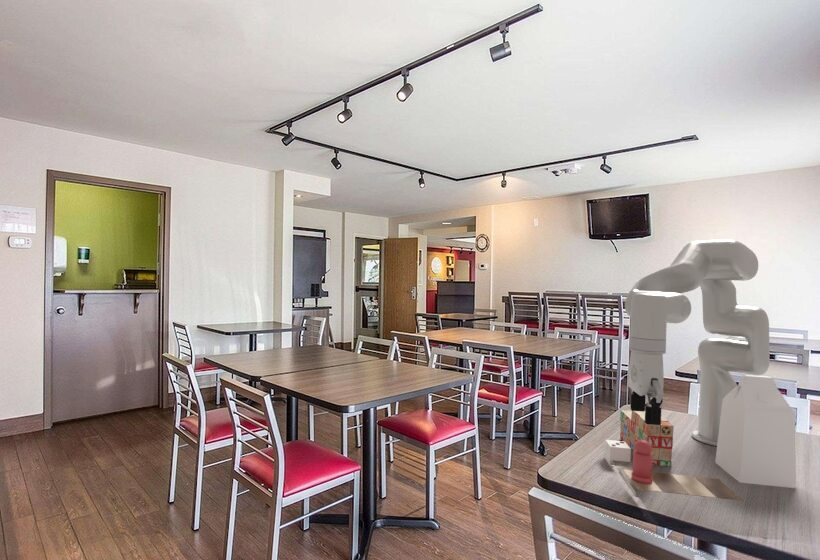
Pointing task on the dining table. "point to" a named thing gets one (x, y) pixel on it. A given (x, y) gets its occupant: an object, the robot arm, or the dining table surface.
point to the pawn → (642, 462)
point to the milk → (757, 434)
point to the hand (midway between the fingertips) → (644, 417)
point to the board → (683, 485)
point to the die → (617, 451)
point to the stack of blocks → (648, 435)
